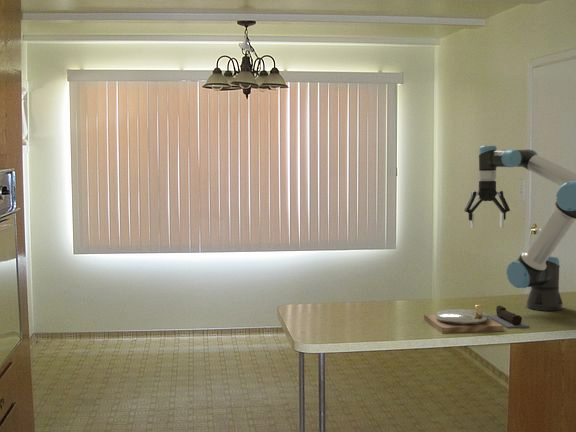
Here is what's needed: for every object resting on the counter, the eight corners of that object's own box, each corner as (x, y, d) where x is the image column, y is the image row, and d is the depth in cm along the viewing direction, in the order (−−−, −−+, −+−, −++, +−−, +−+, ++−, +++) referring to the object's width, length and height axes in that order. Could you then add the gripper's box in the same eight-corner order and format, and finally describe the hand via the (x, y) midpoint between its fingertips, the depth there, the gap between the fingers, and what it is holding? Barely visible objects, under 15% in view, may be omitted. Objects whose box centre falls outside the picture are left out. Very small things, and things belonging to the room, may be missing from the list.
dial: (499, 320, 296) (500, 303, 295) (461, 326, 286) (461, 308, 285) (463, 312, 313) (463, 295, 313) (426, 317, 303) (426, 300, 303)
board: (480, 317, 313) (480, 312, 313) (503, 330, 289) (503, 324, 289) (424, 319, 311) (424, 314, 310) (441, 332, 287) (441, 326, 287)
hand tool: (522, 325, 296) (522, 313, 296) (512, 325, 296) (512, 313, 295) (503, 315, 315) (503, 304, 314) (494, 315, 314) (494, 304, 314)
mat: (507, 315, 317) (507, 314, 317) (529, 327, 295) (529, 325, 295) (486, 316, 316) (486, 314, 316) (507, 328, 294) (507, 326, 294)
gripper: (511, 179, 343) (510, 226, 345) (457, 180, 341) (457, 227, 343) (517, 180, 336) (517, 227, 338) (463, 180, 333) (462, 228, 335)
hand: (487, 227), depth 340 cm, fingers open, 13 cm apart
